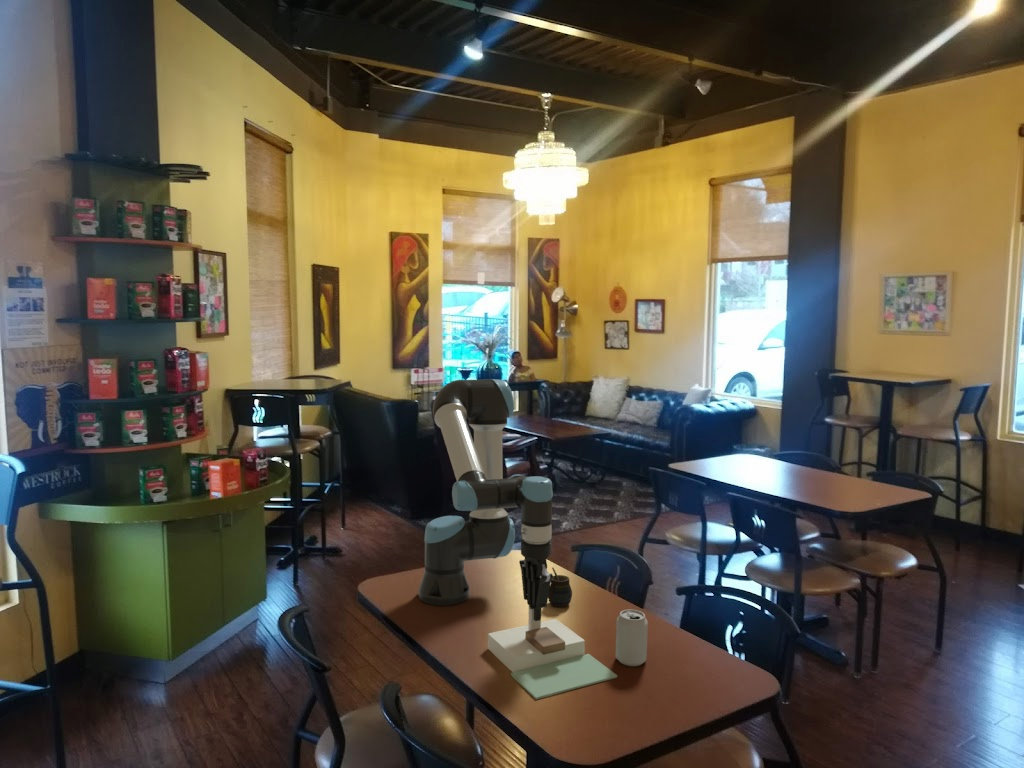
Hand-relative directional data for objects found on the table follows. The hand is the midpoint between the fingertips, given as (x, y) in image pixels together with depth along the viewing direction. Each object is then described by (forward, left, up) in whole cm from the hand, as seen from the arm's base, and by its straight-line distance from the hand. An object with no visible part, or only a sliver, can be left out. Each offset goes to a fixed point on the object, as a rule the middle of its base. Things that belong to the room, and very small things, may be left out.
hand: (534, 630), depth 181 cm
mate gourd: (-22, +21, -6) cm, 31 cm away
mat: (+14, 0, -5) cm, 15 cm away
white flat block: (+1, 0, -5) cm, 5 cm away
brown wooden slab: (+5, 0, -1) cm, 5 cm away
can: (+15, +19, -6) cm, 25 cm away
